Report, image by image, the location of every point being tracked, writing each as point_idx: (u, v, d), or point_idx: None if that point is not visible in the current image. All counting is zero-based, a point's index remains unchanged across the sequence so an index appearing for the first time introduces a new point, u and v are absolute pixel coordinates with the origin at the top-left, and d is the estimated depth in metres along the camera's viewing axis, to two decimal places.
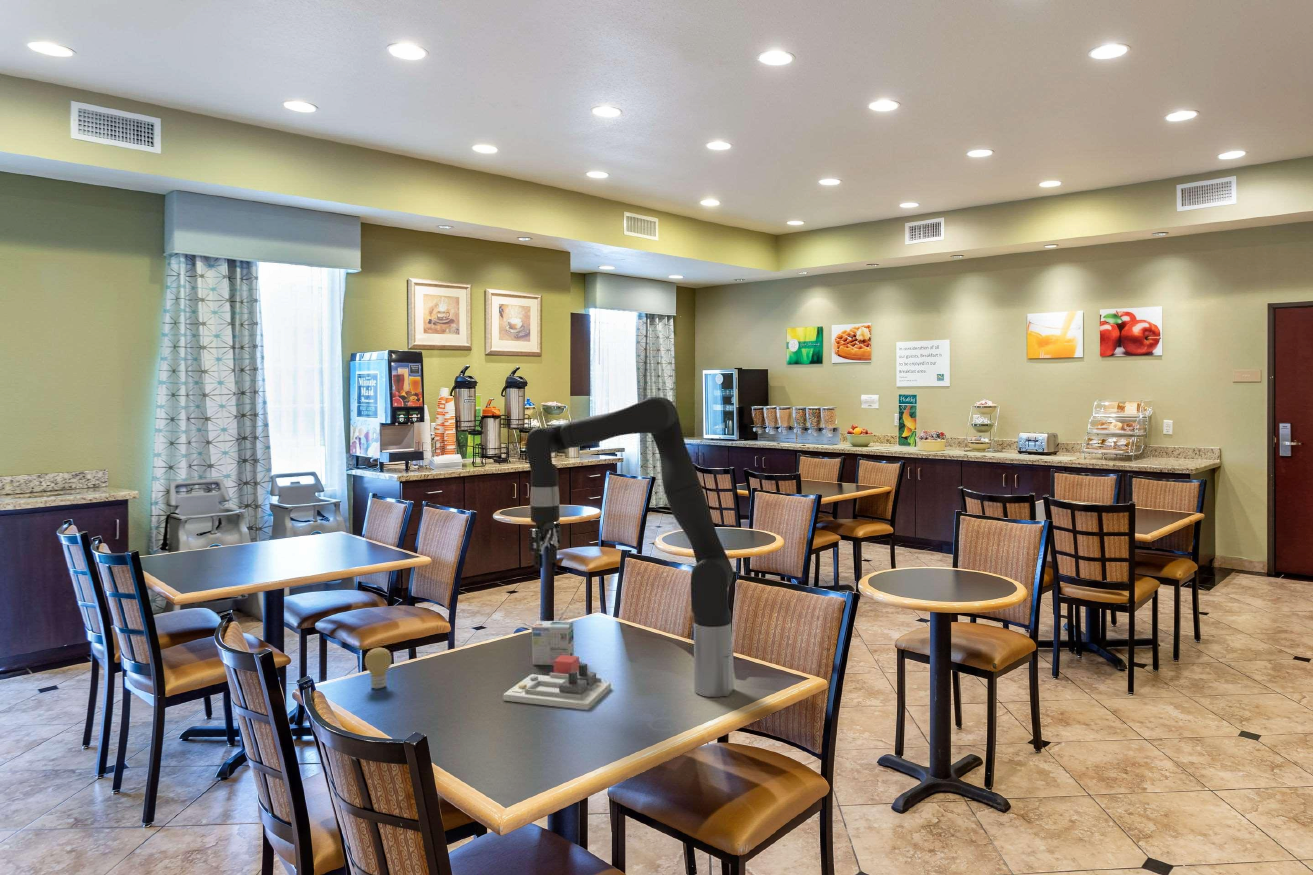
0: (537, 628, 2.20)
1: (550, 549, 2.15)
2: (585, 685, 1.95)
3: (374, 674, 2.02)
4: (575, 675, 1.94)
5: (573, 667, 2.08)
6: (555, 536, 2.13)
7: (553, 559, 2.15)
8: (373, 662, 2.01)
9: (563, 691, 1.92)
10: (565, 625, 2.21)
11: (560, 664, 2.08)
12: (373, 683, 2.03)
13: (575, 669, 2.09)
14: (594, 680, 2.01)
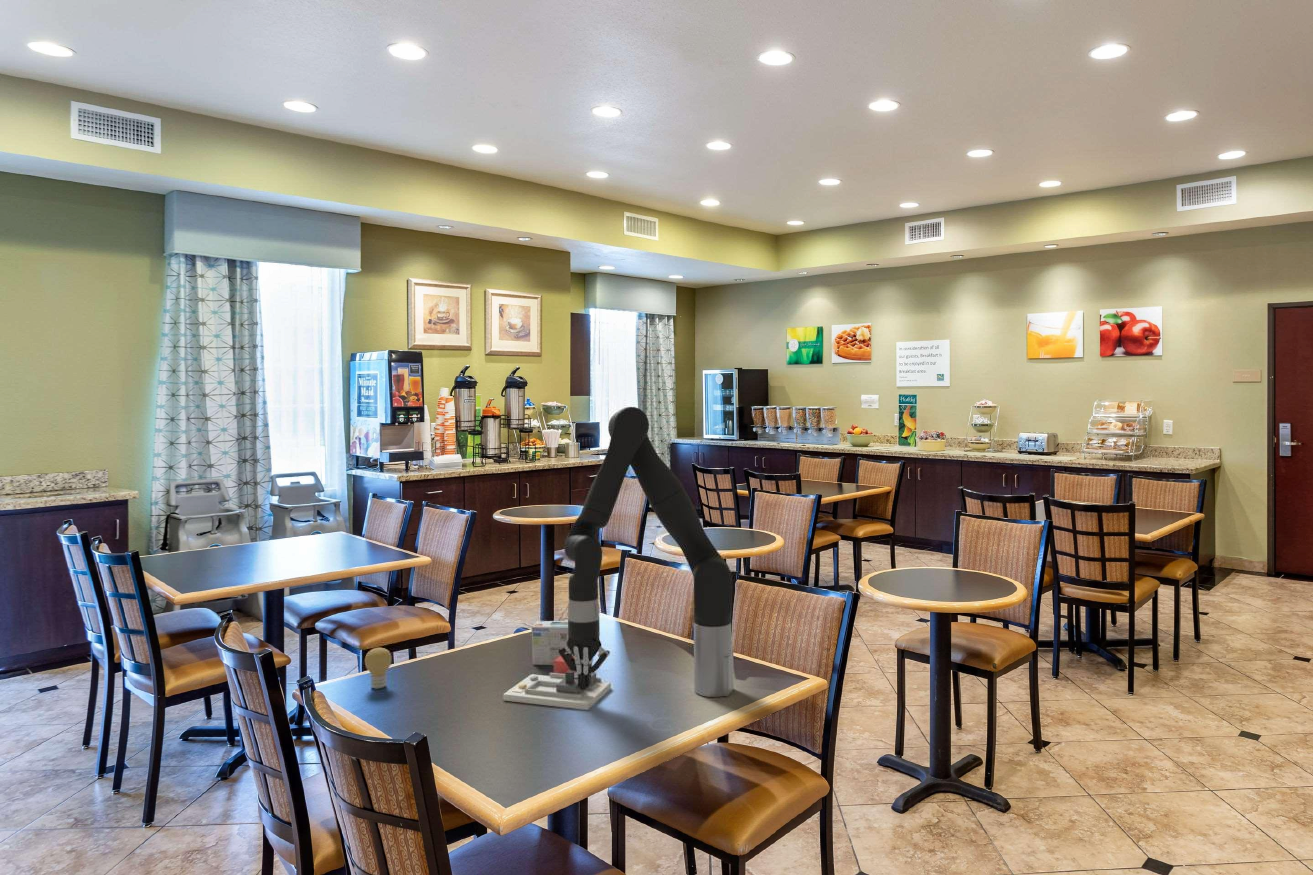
0: (537, 628, 2.20)
1: None
2: None
3: (374, 674, 2.02)
4: (572, 675, 1.94)
5: None
6: None
7: None
8: (373, 662, 2.01)
9: (560, 691, 1.93)
10: (565, 625, 2.21)
11: (560, 664, 2.08)
12: (373, 683, 2.03)
13: None
14: (594, 680, 2.01)
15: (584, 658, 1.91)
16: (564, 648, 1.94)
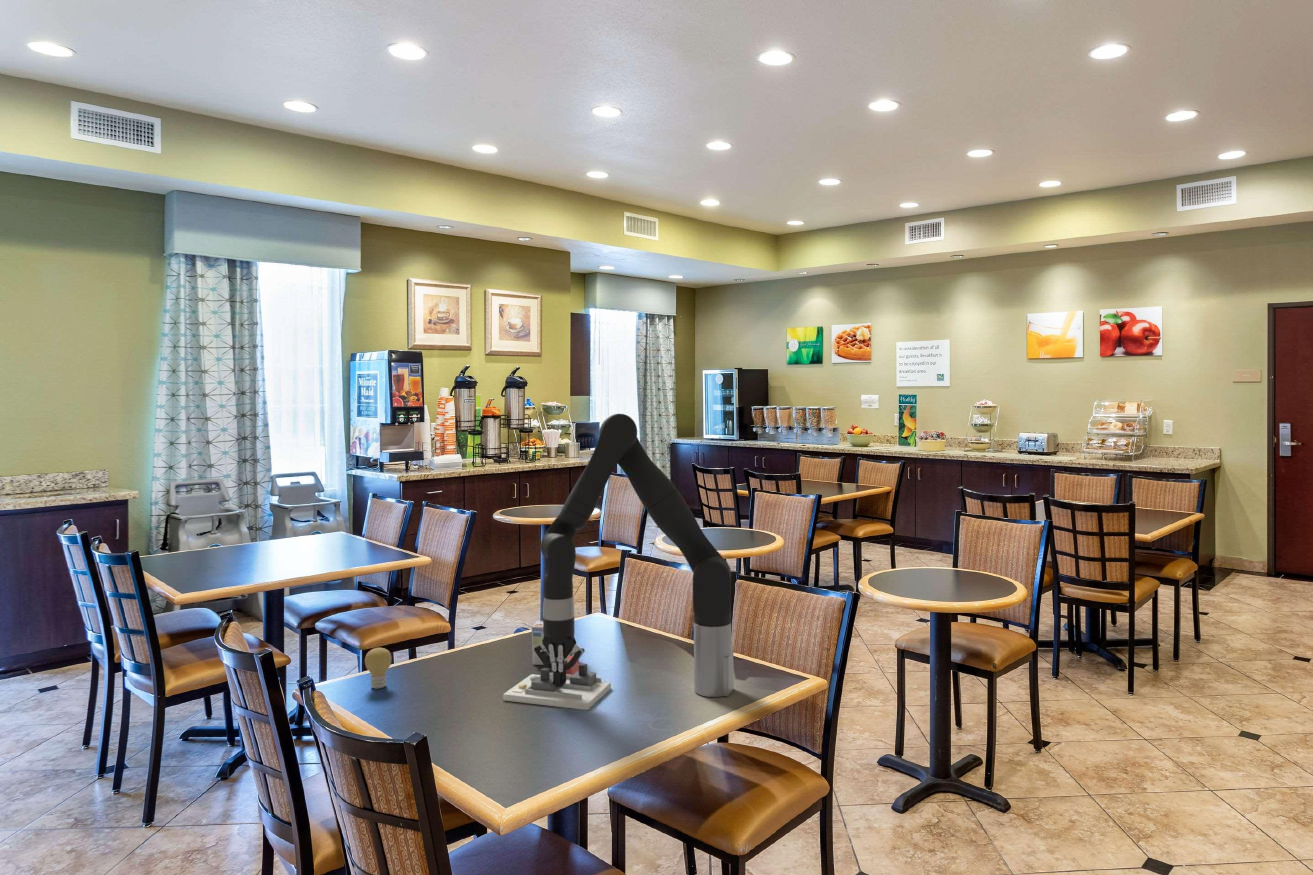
0: (537, 628, 2.20)
1: None
2: None
3: (374, 674, 2.02)
4: (547, 672, 1.96)
5: (573, 667, 2.08)
6: None
7: None
8: (373, 662, 2.01)
9: (535, 688, 1.95)
10: None
11: None
12: (373, 683, 2.03)
13: (575, 669, 2.09)
14: (594, 680, 2.01)
15: (559, 656, 1.93)
16: (540, 646, 1.96)
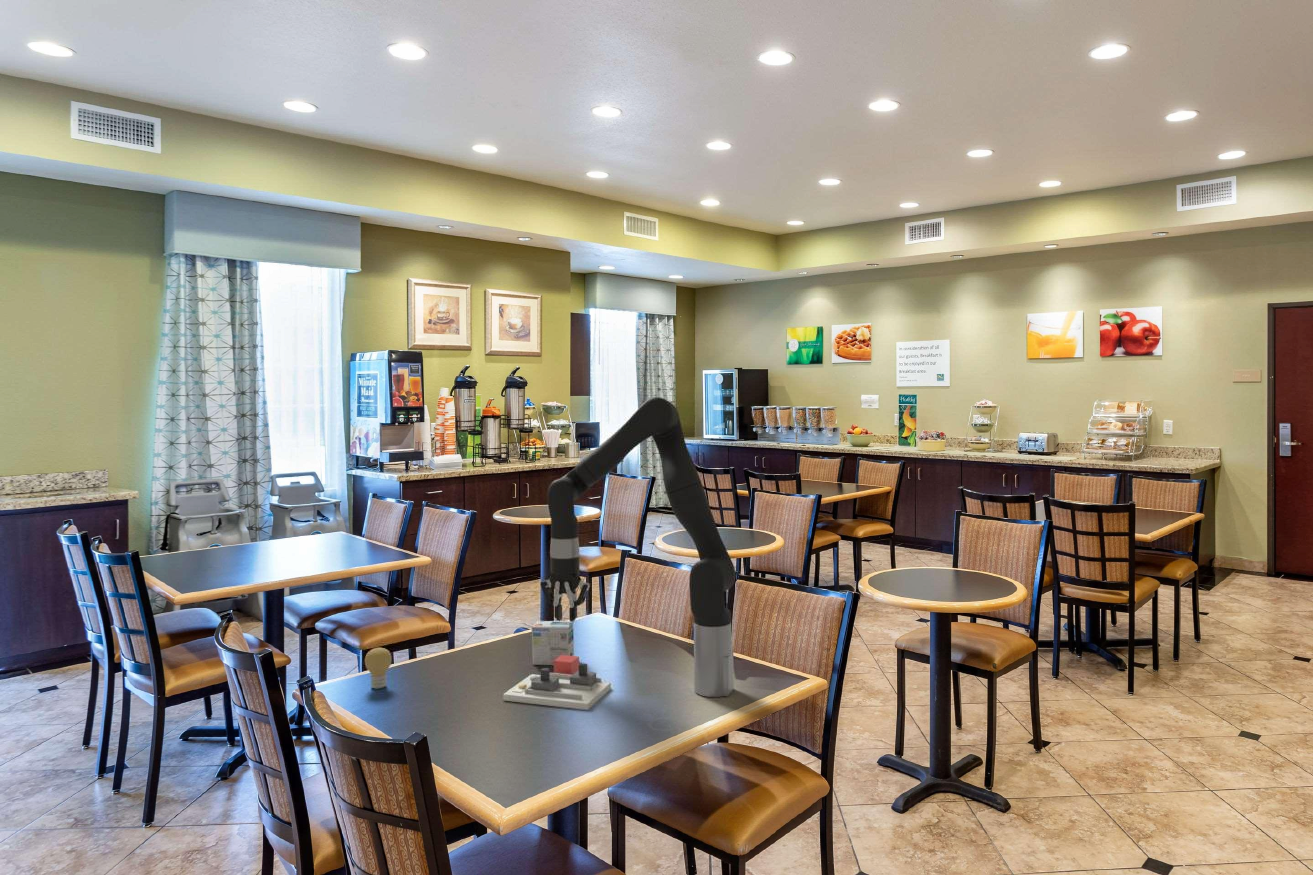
0: (537, 628, 2.20)
1: (559, 607, 2.09)
2: (557, 682, 1.98)
3: (374, 674, 2.02)
4: (547, 672, 1.96)
5: (573, 667, 2.08)
6: None
7: (561, 616, 2.10)
8: (373, 662, 2.01)
9: (535, 688, 1.95)
10: (565, 625, 2.21)
11: (560, 664, 2.08)
12: (373, 683, 2.03)
13: (575, 669, 2.09)
14: (594, 680, 2.01)
15: (567, 592, 2.07)
16: (546, 582, 2.10)
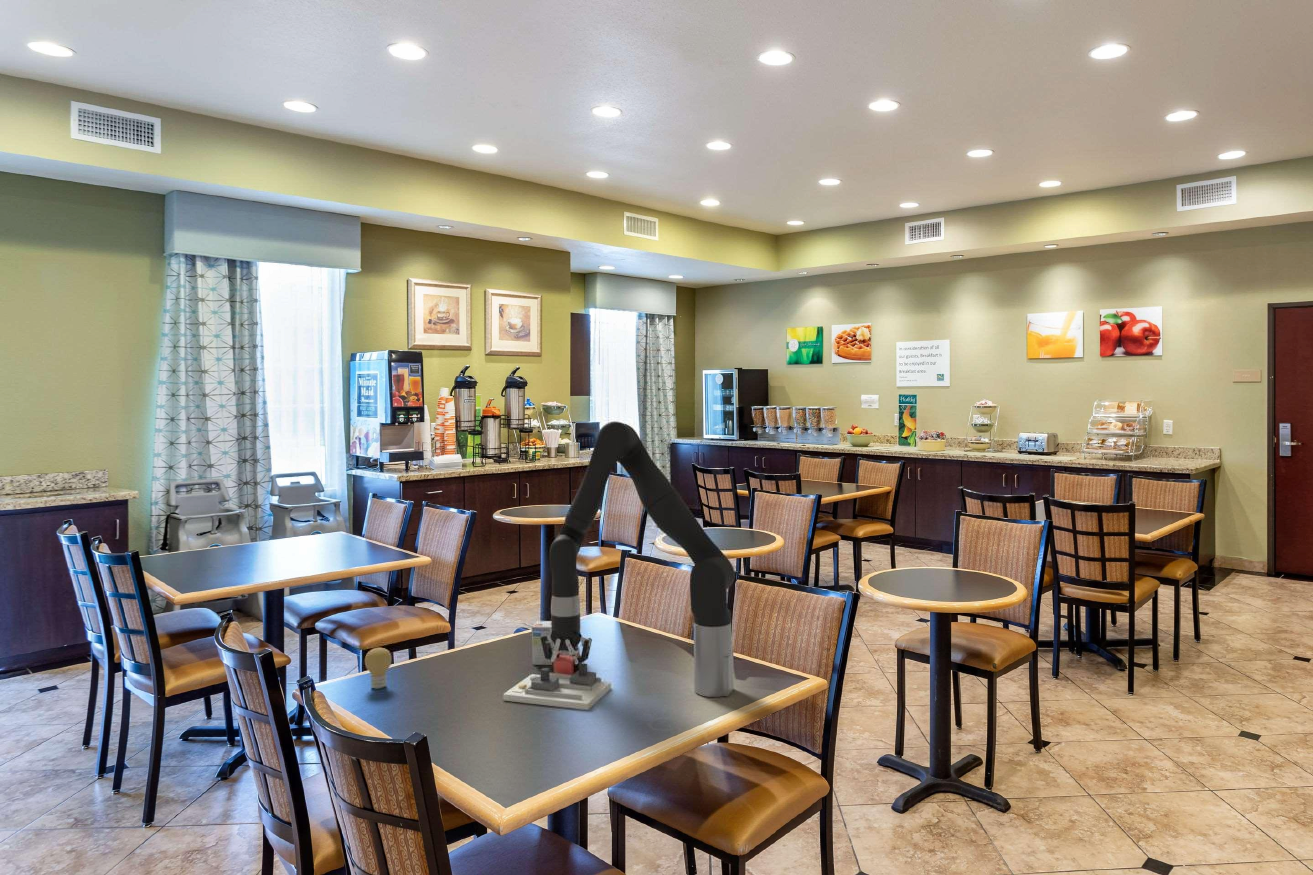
0: (537, 628, 2.20)
1: None
2: (557, 682, 1.98)
3: (374, 674, 2.02)
4: (547, 672, 1.96)
5: (573, 667, 2.08)
6: None
7: None
8: (373, 662, 2.01)
9: (535, 688, 1.95)
10: None
11: (560, 664, 2.08)
12: (373, 683, 2.03)
13: None
14: (594, 680, 2.01)
15: (569, 650, 2.08)
16: (546, 637, 2.11)
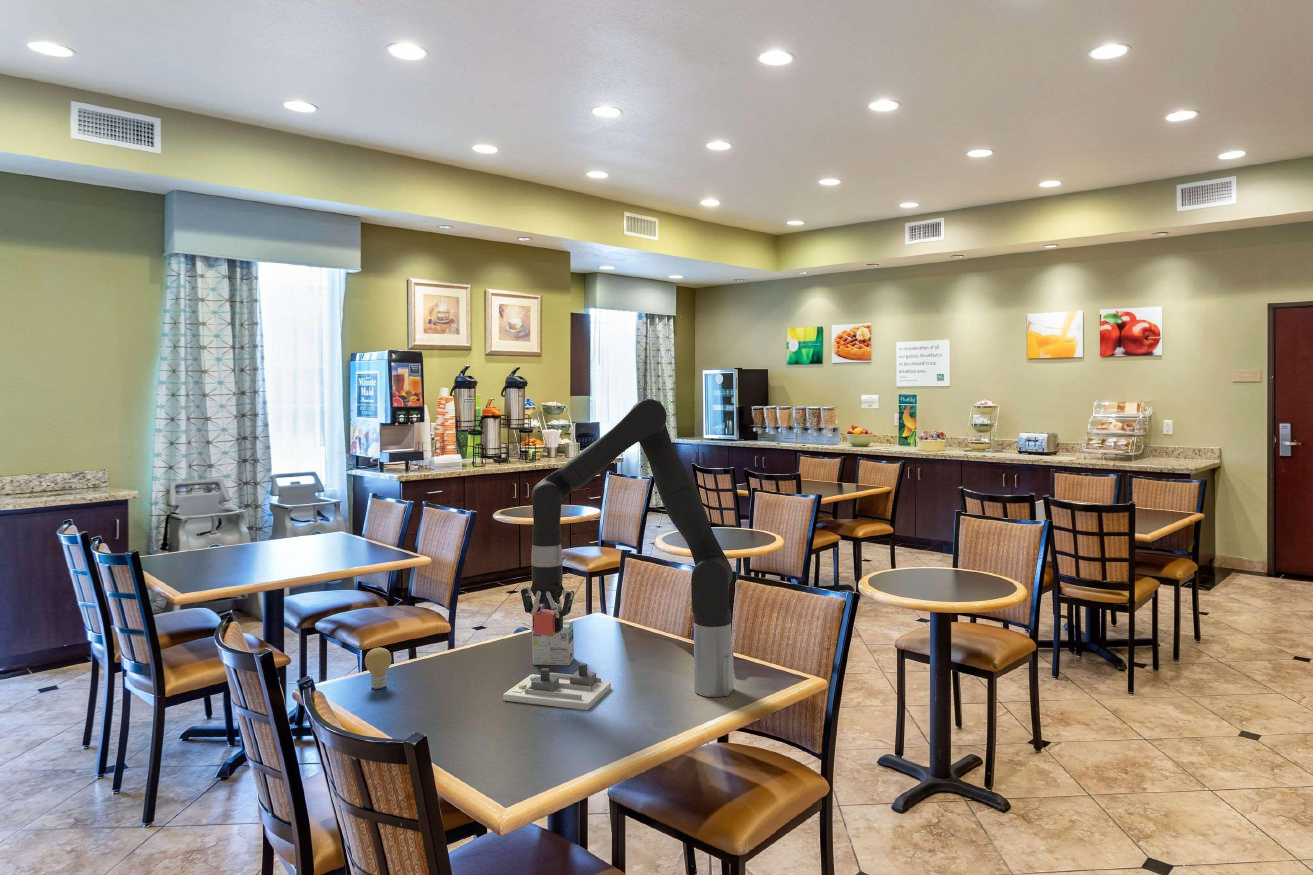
0: None
1: None
2: (557, 682, 1.98)
3: (374, 674, 2.02)
4: (547, 672, 1.96)
5: (554, 621, 1.96)
6: None
7: None
8: (373, 662, 2.01)
9: (535, 688, 1.95)
10: (565, 625, 2.21)
11: (540, 618, 1.96)
12: (373, 683, 2.03)
13: None
14: (594, 680, 2.01)
15: (550, 602, 1.96)
16: (527, 589, 1.99)
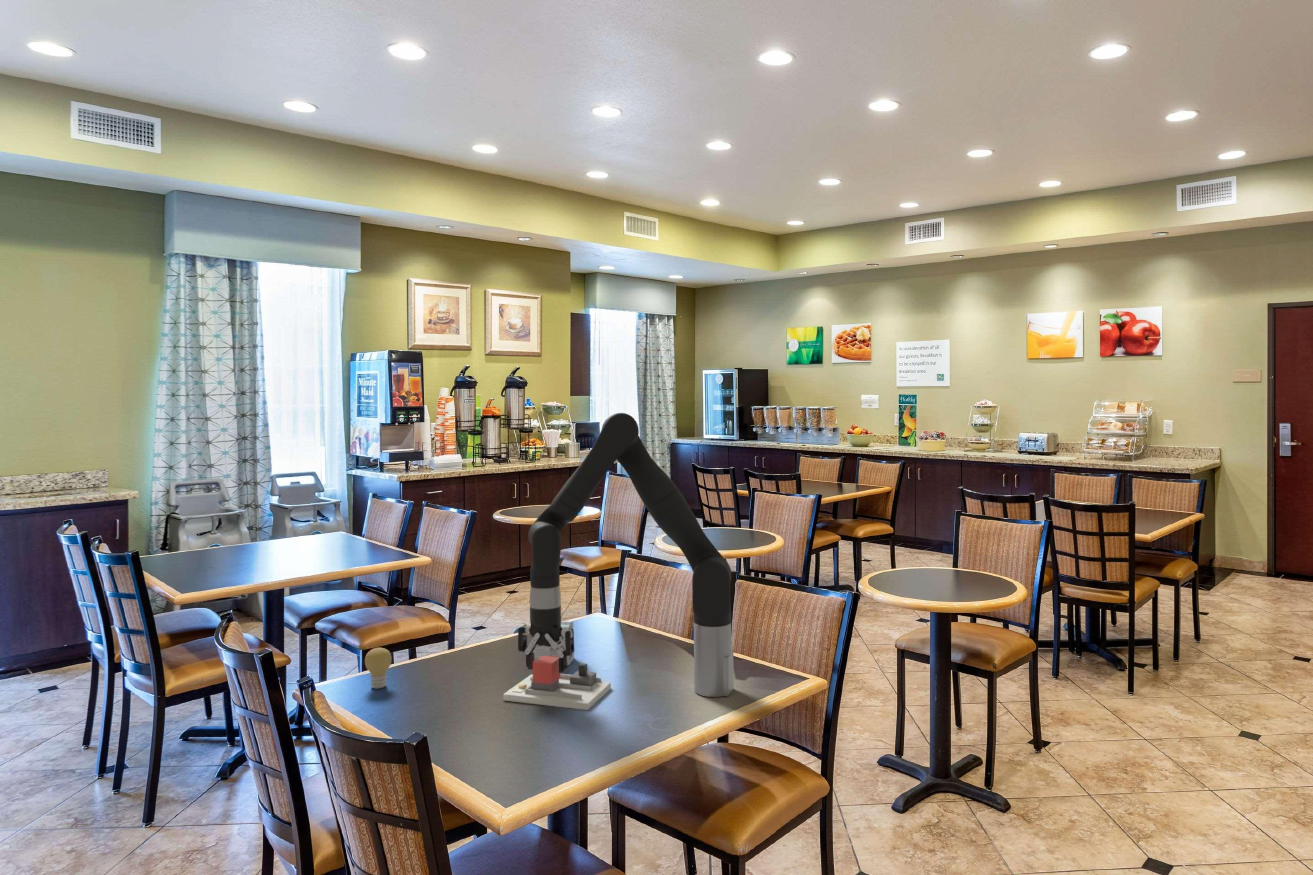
0: None
1: (531, 655, 1.97)
2: (557, 682, 1.98)
3: (374, 674, 2.02)
4: None
5: (553, 669, 1.94)
6: None
7: None
8: (373, 662, 2.01)
9: (535, 688, 1.95)
10: (565, 625, 2.21)
11: (539, 666, 1.94)
12: (373, 683, 2.03)
13: (556, 671, 1.96)
14: (594, 680, 2.01)
15: (551, 644, 1.94)
16: (525, 629, 1.97)
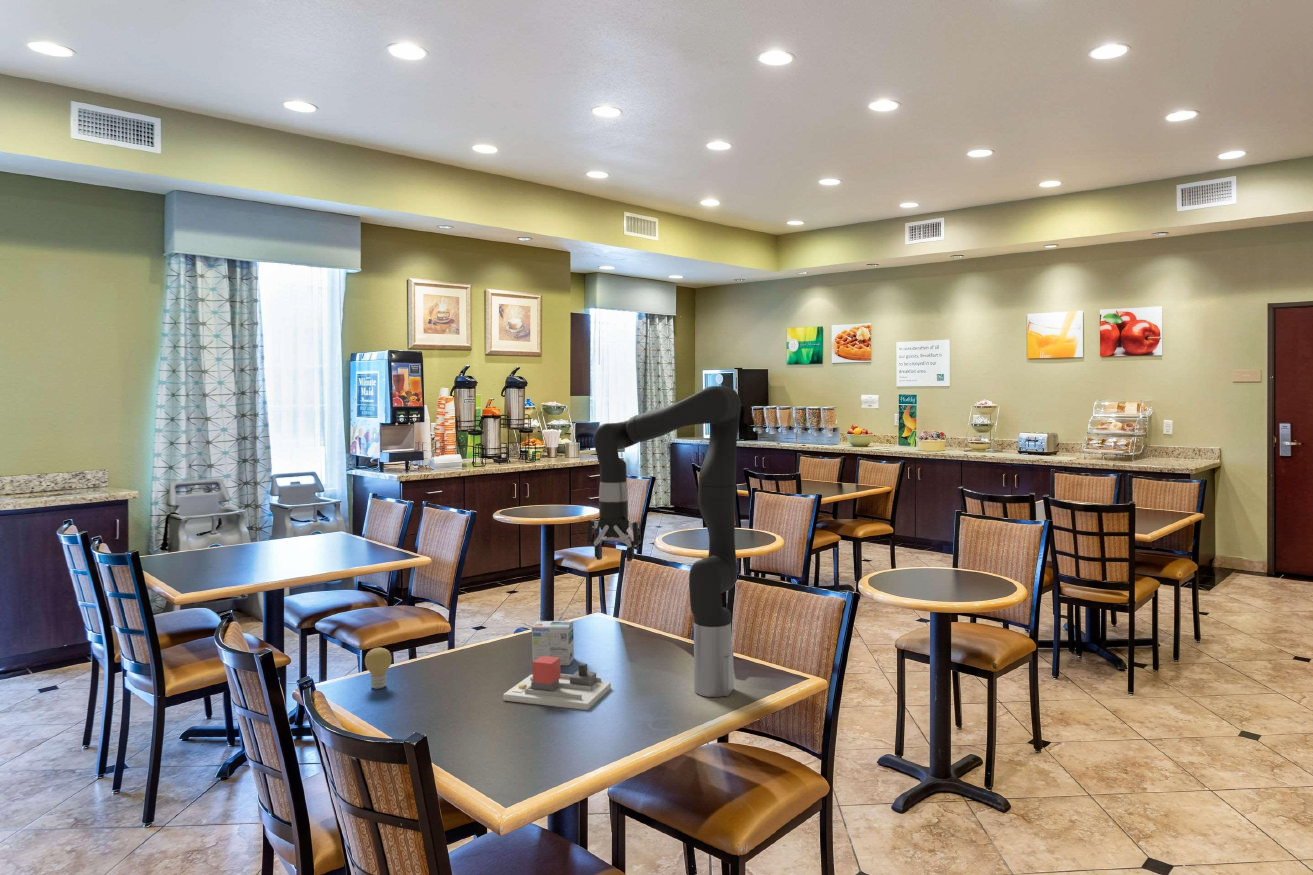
0: (537, 628, 2.20)
1: (599, 547, 2.13)
2: (557, 682, 1.98)
3: (374, 674, 2.02)
4: None
5: (553, 669, 1.94)
6: None
7: (601, 556, 2.14)
8: (373, 662, 2.01)
9: (535, 688, 1.95)
10: (565, 625, 2.21)
11: (539, 666, 1.94)
12: (373, 683, 2.03)
13: (556, 671, 1.96)
14: (594, 680, 2.01)
15: (620, 535, 2.10)
16: (594, 522, 2.13)
